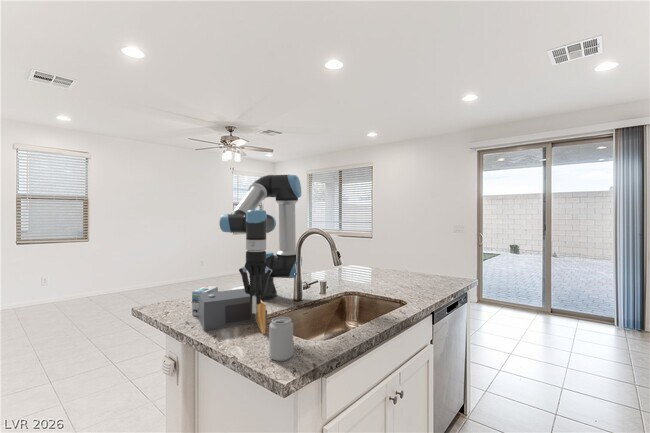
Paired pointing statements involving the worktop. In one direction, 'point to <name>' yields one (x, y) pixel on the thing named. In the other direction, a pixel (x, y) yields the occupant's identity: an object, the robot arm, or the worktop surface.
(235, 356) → the worktop surface
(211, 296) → the grey microwave
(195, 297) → the light bulb box
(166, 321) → the worktop surface
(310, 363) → the worktop surface
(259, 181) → the robot arm
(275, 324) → the can
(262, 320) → the orange cabinet door
